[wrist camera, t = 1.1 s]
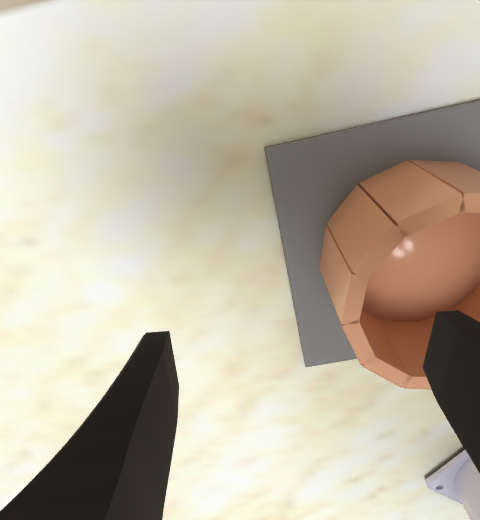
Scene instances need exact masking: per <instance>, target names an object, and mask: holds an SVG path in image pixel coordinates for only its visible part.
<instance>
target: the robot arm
mask: <svg viewBox="0 0 480 520" xmlns="http://www.w3.org/2000/svg"><path fill="white" fill-rule="evenodd" d="M423 370H424V372H425V375H426V377H427V380H428V382H429V385H430V387H431V389H432V391H433V394H434V396H435V398H436V400H437V402H438V404H439V406H440V408H441V409H442V411H443V413H444V414H445V416H446V418H447V420H448V421H449V423H450V425H451V426H452V428H453V430H454V432H455V433H456V435H457V437H458V438H459V440H460V442H461V443H462V445H463V447H464V448H465V450H464V451H462V452H461V453H460V454H458V455H457V456H456V457H454V458H453V459H452V460H450V461H449V462H448V463H446V464H445V465H444V466H443V467H441V468H440V469H439V470H437V471H436V472H435V473H433V474H432V475H431V476H429V477H428V478H427V479H426V481H425V482H426V484H427V487H428V488H430V489H432V490H434V491H436V492H438V493H440V494H442V495H444V496H447V497H449V498H451V499H453V500H455V501H457V502H459V503H462V504H463V506H464V508H465V510H466V512H467V514H468V516H469V518H470V520H480V322H478V321H477V320H475V319H473V318H471V317H470V316H468V315H466V314H464V313H463V312H461V311H459V310H455V311H441V312H436V315H435V319H434V323H433V327H432V331H431V335H430V339H429V343H428V347H427V351H426V355H425V359H424V363H423ZM178 396H179V383H178V378H177V372H176V366H175V361H174V355H173V349H172V344H171V338H170V333H169V331H164V332H151V333H146V334H145V335H144V336H143V337H142V339H141V340H140V342H139V344H138V345H137V347H136V349H135V350H134V352H133V354H132V355H131V357H130V358H129V360H128V361H127V363H126V364H125V366H124V368H123V369H122V371H121V372H120V374H119V375H118V376H117V378H116V379H115V381H114V382H113V384H112V385H111V386H110V388H109V389H108V391H107V392H106V394H105V395H104V396H103V398H102V399H101V400H100V402H99V403H98V404H97V406H96V407H95V408H94V409H93V411H92V412H91V413H90V415H89V416H88V417H87V419H86V420H85V421H84V422H83V424H82V425H81V426H80V427H79V429H78V430H77V431H76V432H75V433H74V435H73V436H72V437H71V438H70V439H69V441H68V442H67V443H66V444H65V445H64V446H63V447H62V449H61V450H60V451H59V452H58V453H57V454H56V455H55V456H54V457H53V459H52V460H51V461H50V462H49V463H48V464H47V465H46V466H45V467H44V468H43V469H42V470H41V471H40V472H39V473H38V474H37V475H36V476H35V477H34V479H33V480H32V481H31V482H30V483H29V484H28V485H27V486H26V487H25V488H24V489H23V490H22V491H21V492H20V493H19V494H18V495H17V496H16V497H15V498H14V499H13V500H12V501H11V502H10V503H9V504H7V505H6V506H5V507H4V508H3V509H2V510H1V511H0V520H162V517H163V508H164V502H165V496H166V490H167V484H168V477H169V471H170V465H171V459H172V453H173V446H174V440H175V433H176V427H177V417H178Z"/></svg>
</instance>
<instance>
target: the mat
mask: <svg viewBox="0 0 480 520" xmlns="http://www.w3.org/2000/svg"><path fill="white" fill-rule="evenodd" d="M265 153H266V158H267V164H268V169H269V174H270V180H271V185H272V190H273V196H274V201H275V206H276V212H277V217H278V222H279V228H280V233H281V239H282V244H283V249H284V255H285V260H286V265H287V271H288V276H289V281H290V287H291V292H292V297H293V303H294V308H295V313H296V319H297V324H298V329H299V335H300V340H301V345H302V351H303V356H304V361H305V366H306V367H310V366H316V365H322V364H328V363H334V362H340V361H346V360H352V359H357V356H356V354H355V352H354V350H353V348H352V346H351V344H350V342H349V340H348V338H347V336H346V334H345V332H344V330H343V328H342V326H341V323H340V320H339V318H338V315H337V313H336V310H335V307H334V305H333V302H332V299H331V297H330V294H329V292H328V289H327V286H326V284H325V281H324V279H323V276H322V273H321V271H320V267H319V265H320V258H321V252H322V245H323V239H324V232H325V226H326V225H327V222H328V220H329V219H330V218H331V217H332V215H333V214H334V213H335V212H336V210H337V209H338V208H339V207H340V205H341V204H342V203H343V201H344V200H345V199H346V198H347V196H348V195H349V194H350V193H351V191H352V190H353V189H354V188H355V186H356V185H359V186H360V184H359V183H360V182H362V181H364V180H366V179H368V178H370V177H372V176H374V175H377V174H379V173H381V172H383V171H385V170H387V169H389V168H391V167H393V166H396V165H398V164H400V163H402V162H404V161H406V160H408V161H409V160H429V161H450V162H460V163H463V164H465V165H467V166H469V167H471V168H474V169H476V170H478V171H480V100H477V101H472V102H468V103H463V104H459V105H454V106H450V107H445V108H441V109H436V110H432V111H427V112H423V113H418V114H414V115H409V116H405V117H400V118H396V119H391V120H387V121H382V122H377V123H373V124H368V125H364V126H359V127H355V128H350V129H346V130H341V131H337V132H332V133H328V134H323V135H319V136H314V137H310V138H305V139H301V140H296V141H292V142H287V143H283V144H278V145H274V146H269V147H265Z"/></svg>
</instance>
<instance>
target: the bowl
mask: <svg viewBox="0 0 480 520" xmlns="http://www.w3.org/2000/svg"><path fill="white" fill-rule="evenodd" d="M359 184H360V186H359V185H356V186H355V188H354V189H353V190H352V191H351V193H350V194H349V195H348V196H347V198H346V199H345V200H344V201H343V203H342V204H341V205H340V207H339V208H338V209H337V210H336V212H335V213H334V214H333V215H332V217H331V218H330V219H329V220H328V222H327V225H326V226H325V232H324V239H323V245H322V252H321V258H320V265H319V267H320V271H321V273H322V276H323V279H324V281H325V284H326V286H327V289H328V292H329V294H330V297H331V299H332V302H333V305H334V307H335V310H336V313H337V315H338V318H339V320H340V323H341V326H342V328H343V330H344V332H345V334H346V336H347V338H348V340H349V342H350V344H351V346H352V348H353V350H354V352H355V354H356V356H357V358H358V360H359V362H360V364H361V365H362V366H363V367H364V368H366V369H368V370H370V371H372V372H374V373H376V374H377V375H379V376H381V377H383V378H385V379H387V380H388V381H390V382H392V383H394V384H396V385H398V386H400V387H401V388H402V387H404V388H410V389H431V387H430V385H429V382H428V380H427V377H426V375H425V372H424V370H423V363H424V359H425V355H426V351H427V347H428V343H429V339H430V335H431V331H432V327H433V323H434V319H435V315H436V312H441V311H455V310H459V311H461V312H463V313H464V314H466V315H468V316H470V317H471V318H473V319H475V320H477V321H478V322H480V171H478V170H476V169H474V168H471V167H469V166H467V165H465V164H463V163H460V162H450V161H429V160H409V161H408V160H406V161H404V162H402V163H400V164H398V165H396V166H393V167H391V168H389V169H387V170H385V171H383V172H381V173H379V174H377V175H374V176H372V177H370V178H368V179H366V180H364V181H362V182H360V183H359Z"/></svg>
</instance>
